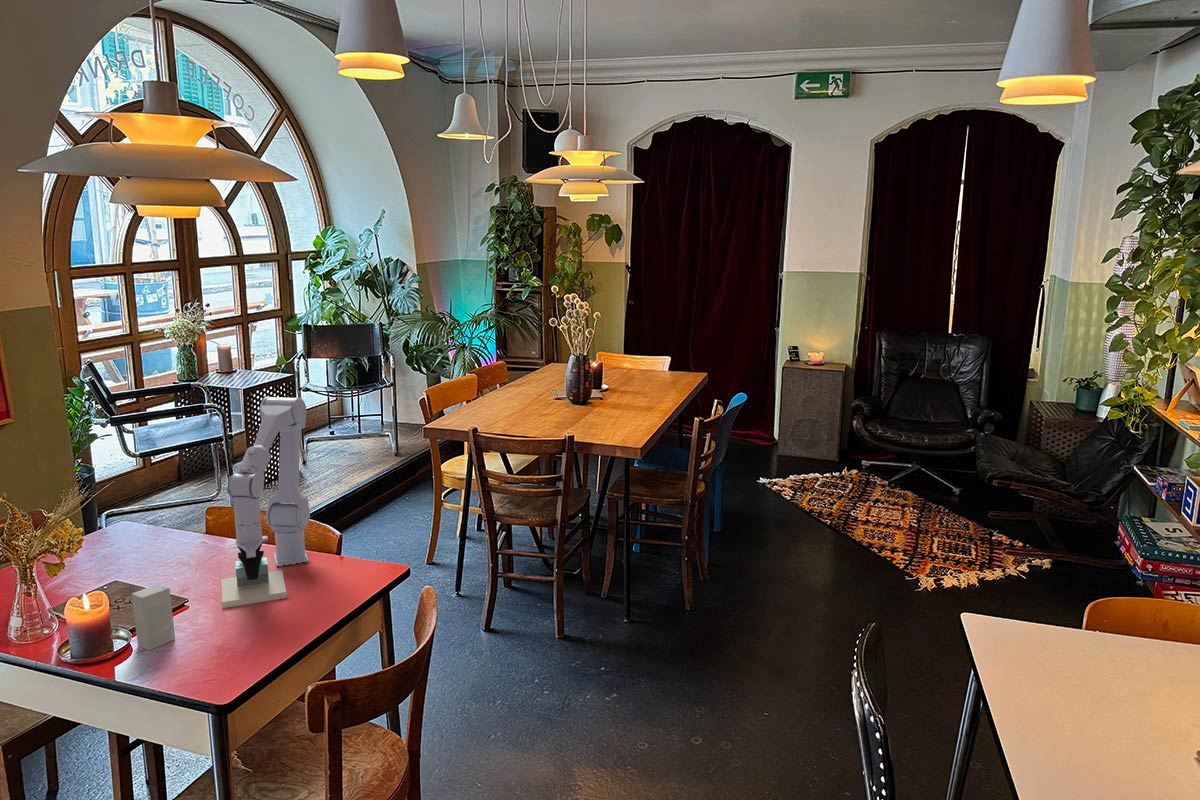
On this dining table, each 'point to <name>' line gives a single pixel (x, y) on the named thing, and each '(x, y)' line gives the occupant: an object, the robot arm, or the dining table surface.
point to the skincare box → (153, 616)
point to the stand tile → (253, 591)
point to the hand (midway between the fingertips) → (252, 575)
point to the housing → (262, 578)
